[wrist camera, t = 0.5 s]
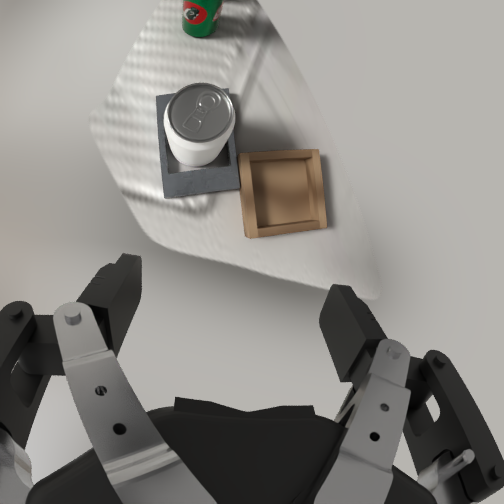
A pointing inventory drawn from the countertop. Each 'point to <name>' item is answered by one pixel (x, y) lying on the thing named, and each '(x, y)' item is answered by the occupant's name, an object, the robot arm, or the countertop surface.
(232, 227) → the countertop surface
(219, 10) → the soda can
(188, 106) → the can
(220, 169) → the gray rectangular tray
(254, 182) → the open wooden box
